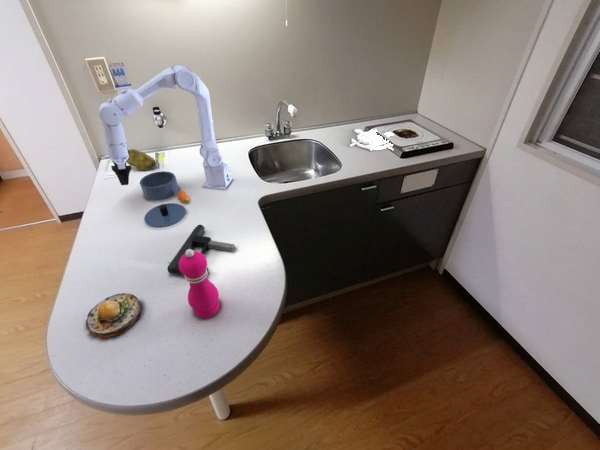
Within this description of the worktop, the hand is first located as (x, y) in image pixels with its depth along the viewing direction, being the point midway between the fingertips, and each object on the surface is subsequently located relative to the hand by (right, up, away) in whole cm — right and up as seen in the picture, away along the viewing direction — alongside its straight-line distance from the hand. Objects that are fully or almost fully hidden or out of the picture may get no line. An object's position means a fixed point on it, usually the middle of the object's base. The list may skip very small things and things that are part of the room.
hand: (123, 179), depth 107 cm
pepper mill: (+38, -37, -30) cm, 61 cm away
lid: (+15, -12, 0) cm, 19 cm away
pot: (+8, -3, +13) cm, 15 cm away
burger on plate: (+16, -39, -32) cm, 53 cm away
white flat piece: (+100, +28, +52) cm, 116 cm away
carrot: (+18, -6, +9) cm, 21 cm away
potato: (-8, +9, +29) cm, 32 cm away
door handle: (+33, -25, -14) cm, 44 cm away
